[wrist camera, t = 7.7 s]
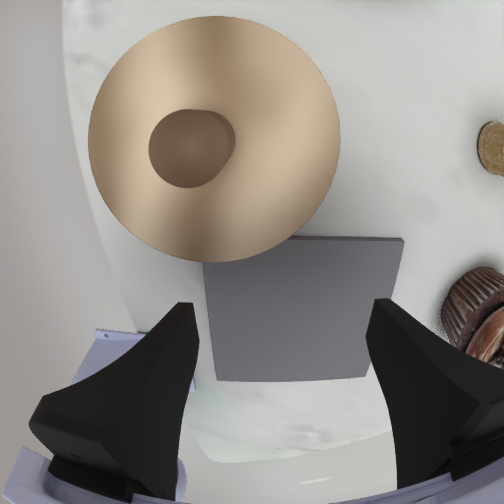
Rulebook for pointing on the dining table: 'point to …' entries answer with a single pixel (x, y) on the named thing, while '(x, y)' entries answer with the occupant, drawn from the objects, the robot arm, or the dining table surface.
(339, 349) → the mat
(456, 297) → the cupcake
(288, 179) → the lid
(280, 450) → the dining table surface
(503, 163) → the sprinkles bottle
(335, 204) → the dining table surface
